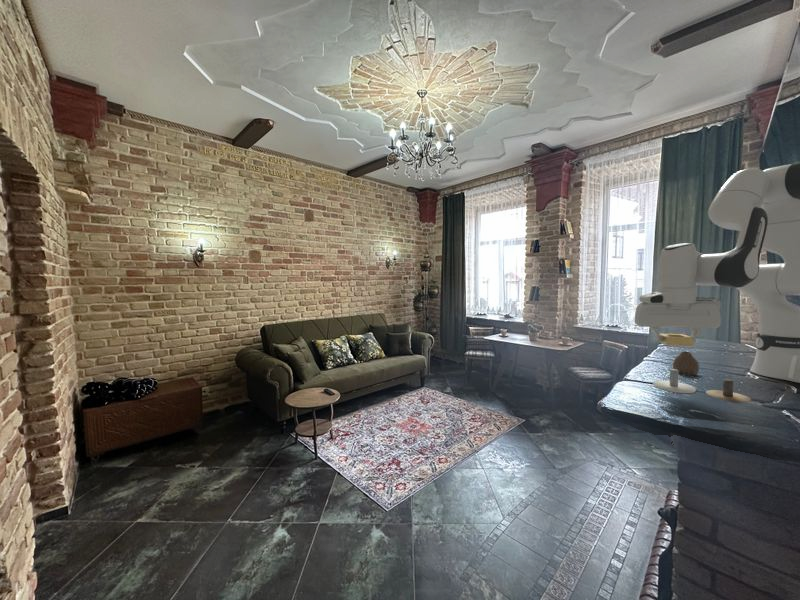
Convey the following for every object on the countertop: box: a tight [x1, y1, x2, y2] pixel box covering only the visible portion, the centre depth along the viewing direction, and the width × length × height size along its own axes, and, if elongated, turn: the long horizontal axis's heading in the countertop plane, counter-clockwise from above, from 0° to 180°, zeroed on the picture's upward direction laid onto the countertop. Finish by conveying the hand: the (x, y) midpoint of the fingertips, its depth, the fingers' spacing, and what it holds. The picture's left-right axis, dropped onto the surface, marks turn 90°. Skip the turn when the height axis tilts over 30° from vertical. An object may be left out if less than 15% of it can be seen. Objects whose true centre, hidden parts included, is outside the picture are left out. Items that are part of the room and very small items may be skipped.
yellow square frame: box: [658, 333, 695, 347], centre depth 97 cm, size 6×6×2 cm
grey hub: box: [652, 368, 697, 394], centre depth 98 cm, size 10×10×7 cm
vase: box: [672, 350, 700, 376], centre depth 112 cm, size 7×7×9 cm
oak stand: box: [705, 378, 752, 403], centre depth 90 cm, size 9×9×6 cm
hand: (675, 341), depth 97 cm, fingers closed on yellow square frame, 6 cm apart
